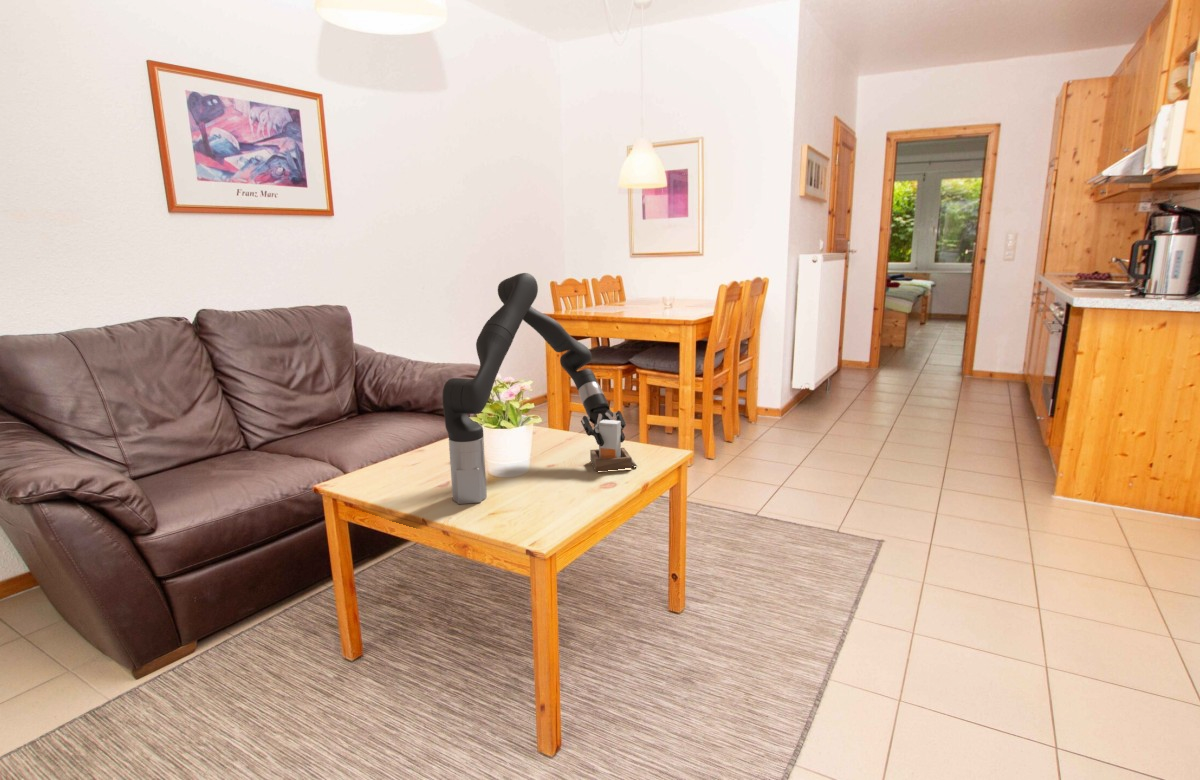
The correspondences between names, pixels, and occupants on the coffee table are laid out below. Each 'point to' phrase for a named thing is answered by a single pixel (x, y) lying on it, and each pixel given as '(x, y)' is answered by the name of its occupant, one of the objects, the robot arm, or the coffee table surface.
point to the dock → (611, 461)
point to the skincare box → (610, 439)
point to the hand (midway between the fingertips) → (612, 443)
